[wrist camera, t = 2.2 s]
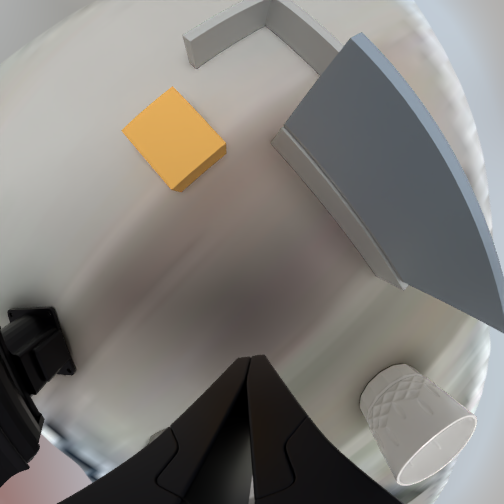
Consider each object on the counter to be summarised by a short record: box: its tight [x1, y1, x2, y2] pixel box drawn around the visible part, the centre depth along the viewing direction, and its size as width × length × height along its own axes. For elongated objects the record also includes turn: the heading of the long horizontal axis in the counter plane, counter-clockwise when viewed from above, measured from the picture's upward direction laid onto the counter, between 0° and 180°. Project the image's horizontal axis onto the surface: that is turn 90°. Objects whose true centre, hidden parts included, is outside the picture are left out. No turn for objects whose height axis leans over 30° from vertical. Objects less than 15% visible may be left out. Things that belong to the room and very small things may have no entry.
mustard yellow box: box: [121, 86, 226, 192], centre depth 16 cm, size 4×5×4 cm
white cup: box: [360, 364, 477, 486], centre depth 18 cm, size 8×8×10 cm
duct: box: [183, 0, 409, 291], centre depth 16 cm, size 8×22×4 cm, turn 41°
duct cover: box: [283, 32, 504, 333], centre depth 11 cm, size 9×12×1 cm
